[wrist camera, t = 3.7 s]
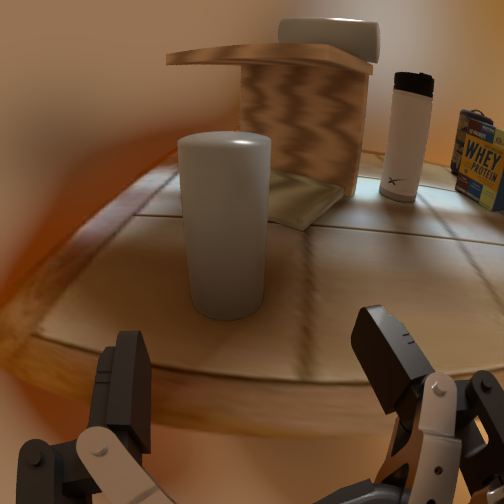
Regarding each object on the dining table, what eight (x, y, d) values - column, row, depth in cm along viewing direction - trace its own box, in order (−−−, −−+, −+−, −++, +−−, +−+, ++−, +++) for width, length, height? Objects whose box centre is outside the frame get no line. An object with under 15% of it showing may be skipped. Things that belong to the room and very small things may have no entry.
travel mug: (390, 203, 41) (410, 69, 31) (372, 186, 47) (387, 67, 36) (423, 204, 42) (444, 79, 31) (403, 188, 47) (419, 76, 37)
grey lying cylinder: (295, 54, 36) (379, 63, 32) (278, 55, 33) (373, 63, 28) (294, 19, 33) (380, 25, 28) (277, 15, 29) (374, 19, 24)
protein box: (453, 189, 51) (467, 116, 43) (486, 189, 55) (499, 128, 47) (491, 212, 43) (510, 133, 34) (518, 209, 47) (535, 143, 38)
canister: (443, 167, 66) (454, 102, 56) (469, 173, 65) (481, 111, 56) (460, 179, 58) (473, 107, 48) (487, 186, 57) (501, 118, 48)
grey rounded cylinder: (276, 290, 25) (288, 138, 18) (234, 332, 21) (232, 155, 14) (222, 266, 27) (219, 128, 21) (176, 299, 23) (158, 143, 17)
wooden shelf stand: (358, 194, 44) (373, 65, 33) (311, 239, 32) (328, 44, 21) (244, 165, 53) (246, 57, 43) (172, 194, 41) (166, 54, 31)
